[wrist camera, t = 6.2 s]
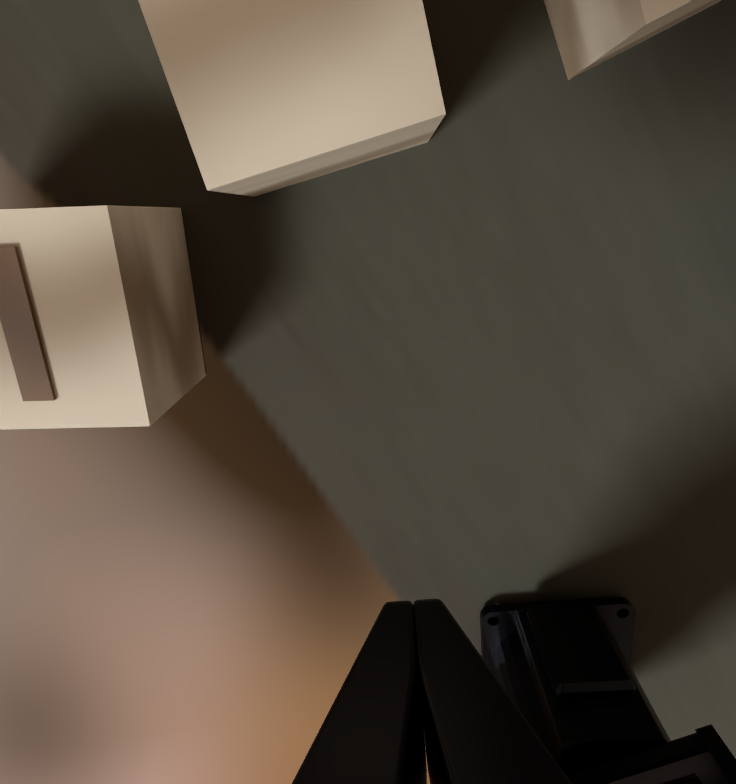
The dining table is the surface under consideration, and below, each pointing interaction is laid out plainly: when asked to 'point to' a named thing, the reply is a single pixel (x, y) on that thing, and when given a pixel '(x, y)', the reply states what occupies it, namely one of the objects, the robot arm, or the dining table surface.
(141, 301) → the one-stroke block
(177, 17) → the plain block
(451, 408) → the dining table surface
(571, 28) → the block
